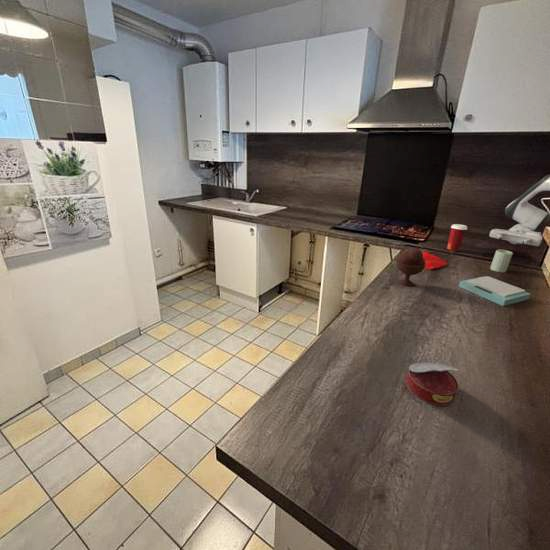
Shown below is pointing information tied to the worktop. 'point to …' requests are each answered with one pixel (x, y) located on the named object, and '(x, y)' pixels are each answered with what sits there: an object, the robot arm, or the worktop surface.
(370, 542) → the worktop surface
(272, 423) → the worktop surface
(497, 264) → the cup
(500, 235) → the robot arm
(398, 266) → the ice cream bowl
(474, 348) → the worktop surface
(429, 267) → the cloth
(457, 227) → the paper cup
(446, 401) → the canned food
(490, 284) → the scale
